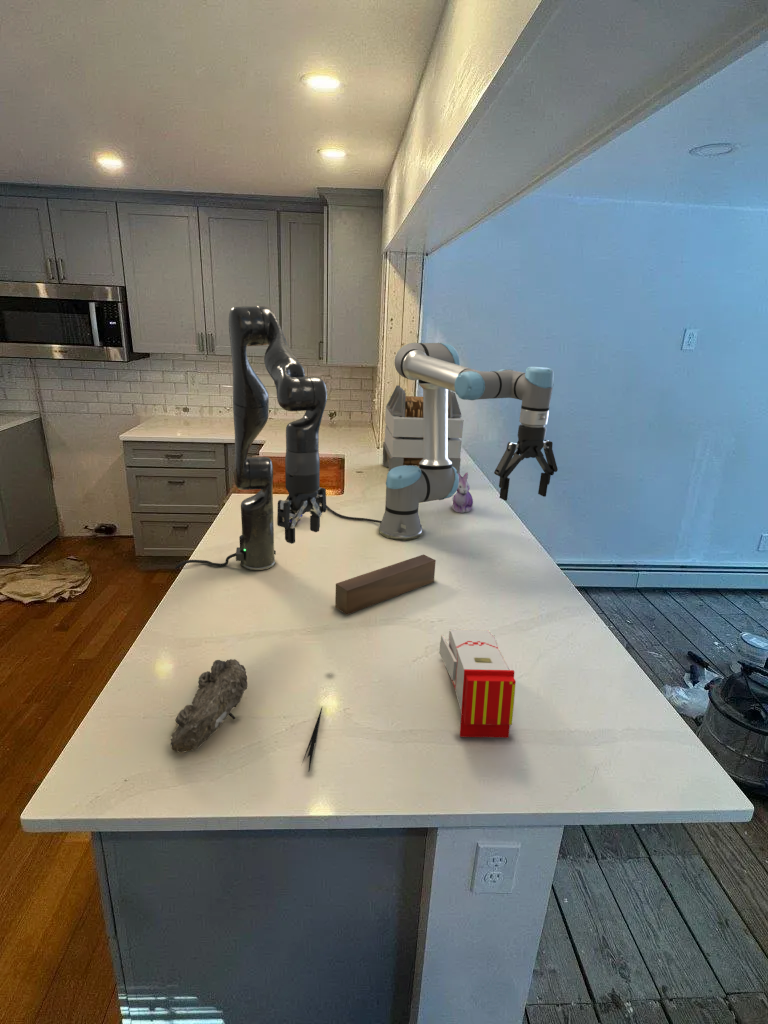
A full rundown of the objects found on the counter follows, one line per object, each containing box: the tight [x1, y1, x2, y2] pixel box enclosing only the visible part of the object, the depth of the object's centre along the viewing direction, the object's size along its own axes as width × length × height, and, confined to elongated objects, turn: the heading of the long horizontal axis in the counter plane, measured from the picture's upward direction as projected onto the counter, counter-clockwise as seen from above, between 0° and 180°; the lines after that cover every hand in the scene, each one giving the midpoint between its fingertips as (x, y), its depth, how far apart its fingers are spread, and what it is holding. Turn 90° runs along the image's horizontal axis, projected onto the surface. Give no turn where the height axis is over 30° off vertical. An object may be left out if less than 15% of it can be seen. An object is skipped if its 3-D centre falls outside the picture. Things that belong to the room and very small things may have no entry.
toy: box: [438, 628, 517, 738], centre depth 117 cm, size 12×13×30 cm
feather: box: [301, 673, 332, 771], centre depth 108 cm, size 2×28×2 cm
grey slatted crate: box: [381, 384, 464, 474], centre depth 268 cm, size 34×33×41 cm
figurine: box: [451, 472, 474, 514], centre depth 225 cm, size 9×10×15 cm
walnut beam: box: [334, 554, 437, 616], centre depth 156 cm, size 5×32×7 cm, turn 131°
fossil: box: [170, 658, 249, 753], centre depth 106 cm, size 22×10×15 cm
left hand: (302, 536), depth 131 cm, fingers open, 8 cm apart
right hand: (522, 497), depth 165 cm, fingers open, 13 cm apart
